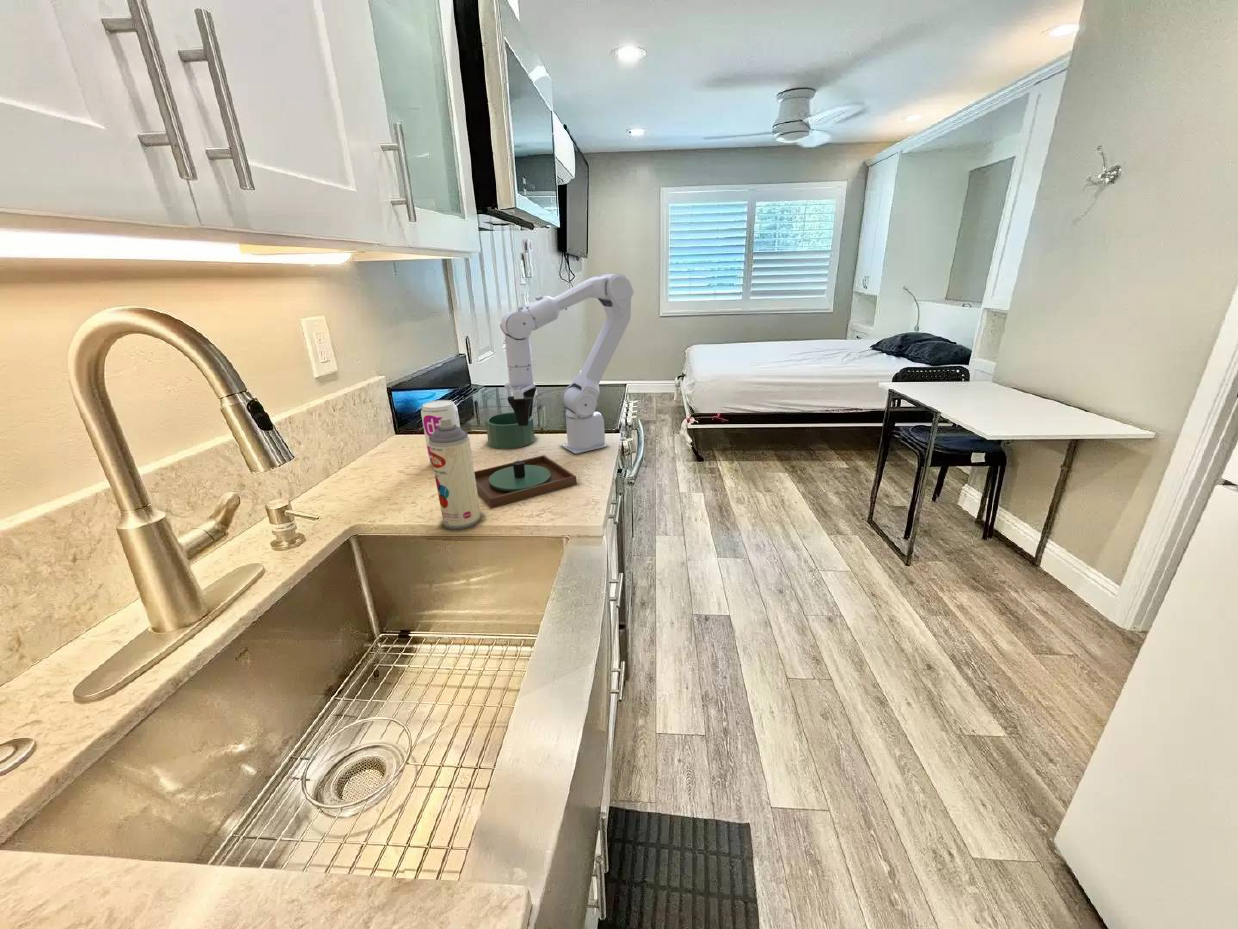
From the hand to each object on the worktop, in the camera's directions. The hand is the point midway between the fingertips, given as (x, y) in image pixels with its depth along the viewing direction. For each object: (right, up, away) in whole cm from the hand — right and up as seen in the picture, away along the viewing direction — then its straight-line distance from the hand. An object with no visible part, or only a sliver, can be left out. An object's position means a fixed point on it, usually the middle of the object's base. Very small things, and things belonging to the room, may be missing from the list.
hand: (525, 420), depth 120 cm
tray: (+1, -15, -11) cm, 19 cm away
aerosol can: (-7, -21, -27) cm, 35 cm away
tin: (-7, -4, +15) cm, 17 cm away
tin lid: (+1, -14, -12) cm, 18 cm away
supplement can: (-19, -11, +1) cm, 22 cm away
